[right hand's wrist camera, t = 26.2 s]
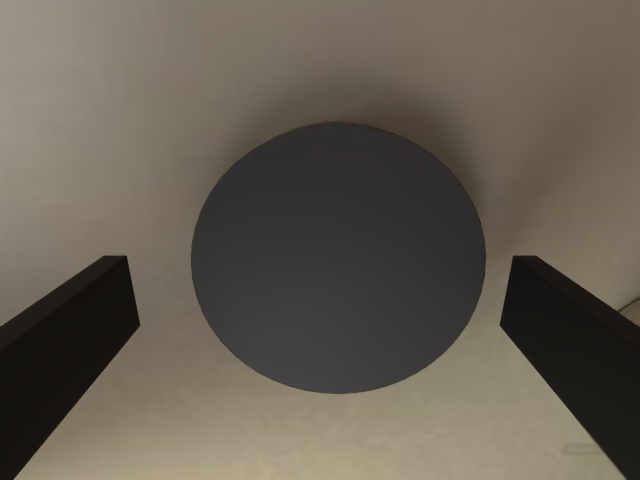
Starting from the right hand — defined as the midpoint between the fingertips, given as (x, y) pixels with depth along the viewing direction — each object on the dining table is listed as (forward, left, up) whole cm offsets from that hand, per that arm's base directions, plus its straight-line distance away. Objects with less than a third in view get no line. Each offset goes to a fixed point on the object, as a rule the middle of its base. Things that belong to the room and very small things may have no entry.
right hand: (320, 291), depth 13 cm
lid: (0, -1, -2) cm, 2 cm away
